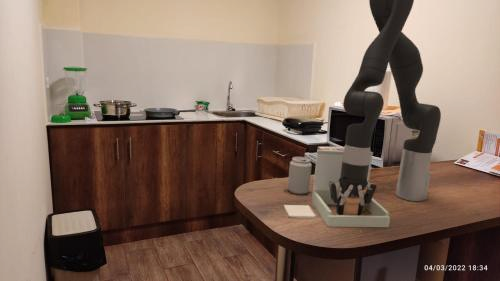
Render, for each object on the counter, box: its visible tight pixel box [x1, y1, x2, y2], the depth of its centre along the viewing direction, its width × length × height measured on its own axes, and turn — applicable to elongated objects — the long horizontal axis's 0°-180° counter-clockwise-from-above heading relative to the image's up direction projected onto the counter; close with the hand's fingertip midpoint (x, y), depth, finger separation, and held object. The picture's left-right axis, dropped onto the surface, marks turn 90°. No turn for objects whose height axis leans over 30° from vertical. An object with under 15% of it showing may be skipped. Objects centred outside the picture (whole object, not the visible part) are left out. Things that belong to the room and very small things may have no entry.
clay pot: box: [341, 194, 361, 216], centre depth 108 cm, size 6×6×9 cm
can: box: [287, 156, 312, 195], centre depth 128 cm, size 8×8×12 cm
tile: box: [283, 204, 317, 219], centre depth 111 cm, size 8×8×1 cm
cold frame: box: [311, 150, 391, 228], centre depth 110 cm, size 18×17×18 cm
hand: (348, 215), depth 109 cm, fingers closed on clay pot, 4 cm apart
